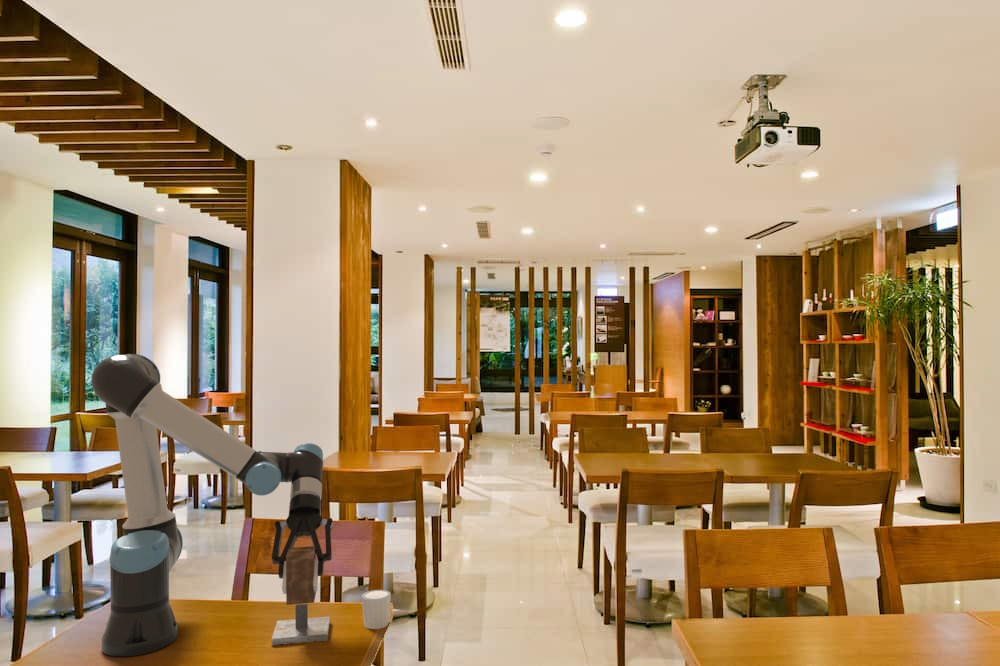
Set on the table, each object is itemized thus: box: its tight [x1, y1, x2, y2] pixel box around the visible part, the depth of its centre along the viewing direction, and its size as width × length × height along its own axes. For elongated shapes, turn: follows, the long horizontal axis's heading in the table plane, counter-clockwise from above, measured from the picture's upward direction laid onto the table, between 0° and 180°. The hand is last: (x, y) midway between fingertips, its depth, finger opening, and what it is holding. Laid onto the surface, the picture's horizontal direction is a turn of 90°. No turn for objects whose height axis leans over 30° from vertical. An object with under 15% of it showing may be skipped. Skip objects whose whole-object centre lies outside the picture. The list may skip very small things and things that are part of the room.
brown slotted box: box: [285, 545, 317, 606], centre depth 158 cm, size 6×6×11 cm
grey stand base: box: [271, 603, 331, 646], centre depth 158 cm, size 12×10×6 cm
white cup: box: [361, 589, 392, 630], centre depth 163 cm, size 7×7×7 cm
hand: (299, 589), depth 154 cm, fingers closed on brown slotted box, 6 cm apart
